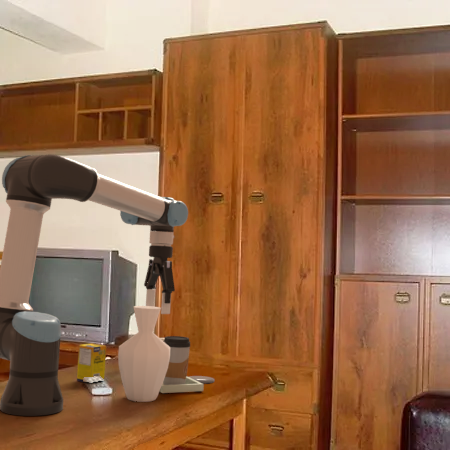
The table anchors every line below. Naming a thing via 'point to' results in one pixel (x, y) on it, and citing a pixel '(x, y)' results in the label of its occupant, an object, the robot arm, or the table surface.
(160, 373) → the vase
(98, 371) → the supplement box
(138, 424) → the table surface
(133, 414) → the table surface
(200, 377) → the coaster
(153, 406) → the table surface
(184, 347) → the coffee cup
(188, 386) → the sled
